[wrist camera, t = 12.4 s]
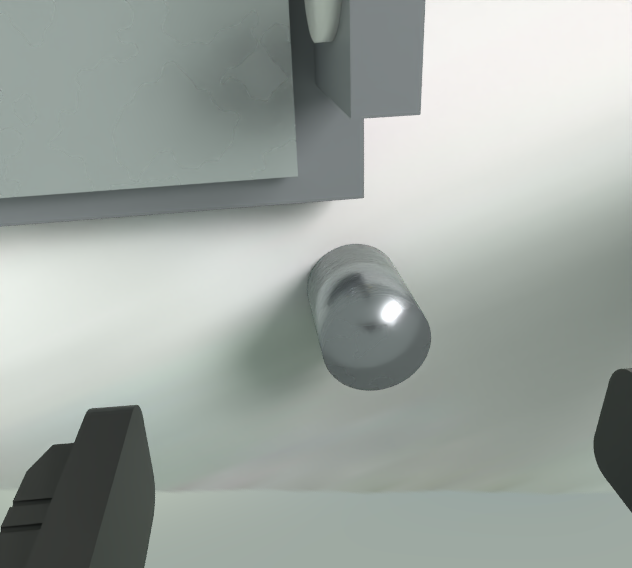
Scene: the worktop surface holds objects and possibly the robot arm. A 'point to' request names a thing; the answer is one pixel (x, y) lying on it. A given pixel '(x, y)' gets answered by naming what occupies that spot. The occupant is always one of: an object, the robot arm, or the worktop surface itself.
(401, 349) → the cylinder
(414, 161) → the worktop surface
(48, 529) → the robot arm
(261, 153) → the scale
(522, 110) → the worktop surface
